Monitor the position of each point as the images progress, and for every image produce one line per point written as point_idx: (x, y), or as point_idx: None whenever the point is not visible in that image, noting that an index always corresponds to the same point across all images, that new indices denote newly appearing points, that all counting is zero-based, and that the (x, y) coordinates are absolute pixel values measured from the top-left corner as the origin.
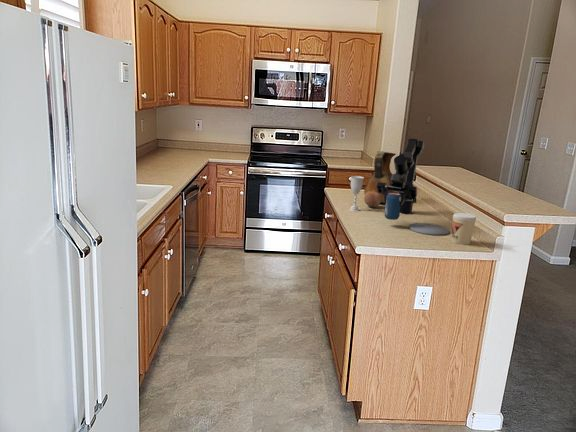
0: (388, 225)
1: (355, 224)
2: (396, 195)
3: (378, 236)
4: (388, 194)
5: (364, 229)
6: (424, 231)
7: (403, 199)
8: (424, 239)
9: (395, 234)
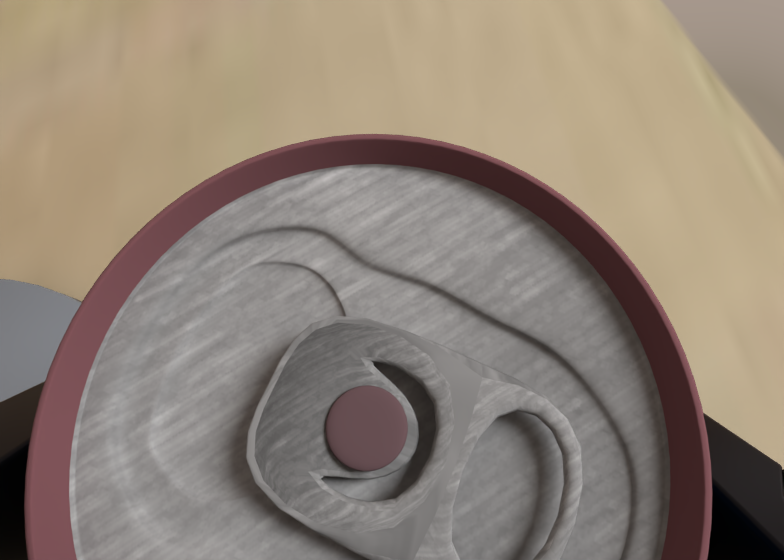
0: None
1: (755, 274)
2: (233, 182)
3: (427, 9)
4: (611, 278)
5: (601, 143)
6: (6, 307)
7: (29, 392)
8: (45, 119)
9: (301, 135)
